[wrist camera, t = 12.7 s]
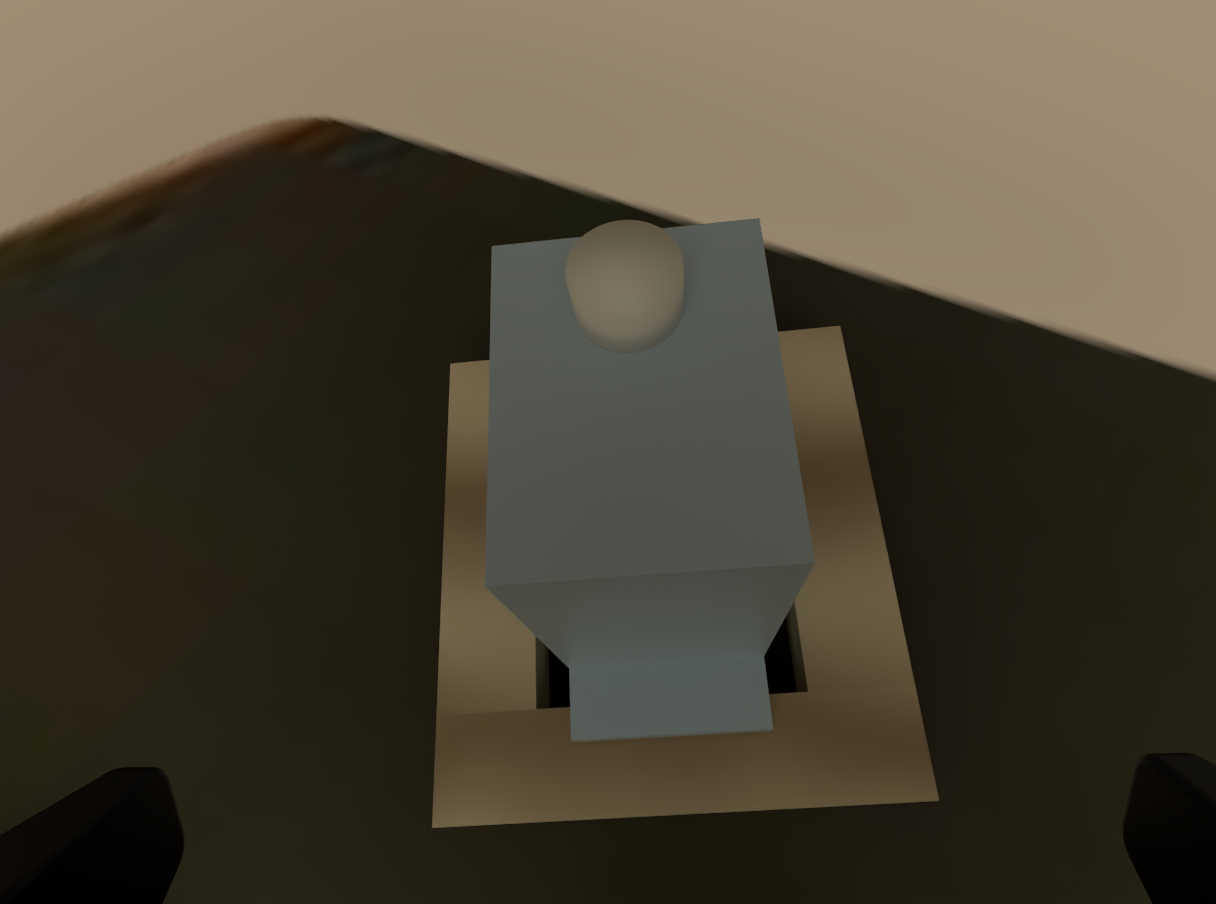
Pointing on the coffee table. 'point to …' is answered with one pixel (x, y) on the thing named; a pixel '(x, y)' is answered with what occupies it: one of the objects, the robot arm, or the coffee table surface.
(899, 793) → the plate
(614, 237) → the servo
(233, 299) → the coffee table surface
